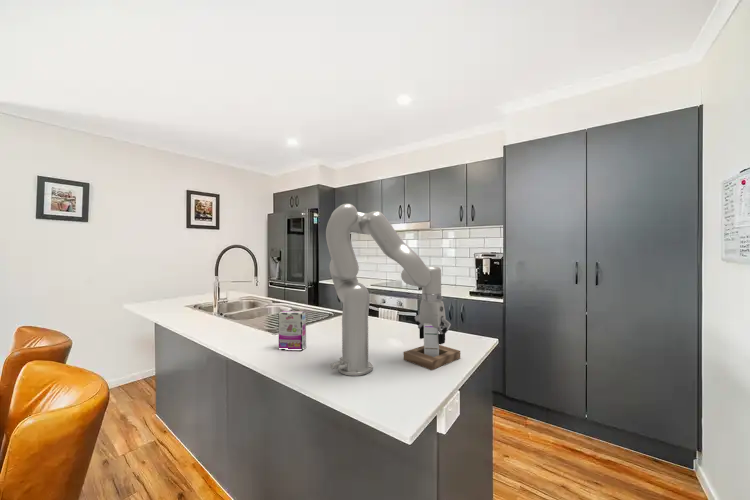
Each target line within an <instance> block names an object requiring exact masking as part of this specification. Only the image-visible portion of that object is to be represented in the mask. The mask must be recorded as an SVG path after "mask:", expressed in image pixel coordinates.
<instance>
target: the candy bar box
mask: <svg viewBox="0 0 750 500" xmlns="http://www.w3.org/2000/svg"><path fill="white" fill-rule="evenodd" d="M306 312H307V311H306V310H305V311H300V310H297V311H295V310H292V311H291V310H282V311H280V312H278V315H277V316H278V317H277V318H278V349H279V348H288V349H303V348H305V347H306V348H307V319H306V318H307V316H306V315H307V313H306ZM306 348H305V349H306Z"/></svg>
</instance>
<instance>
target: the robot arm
mask: <svg viewBox="0 0 750 500" xmlns="http://www.w3.org/2000/svg"><path fill="white" fill-rule="evenodd" d="M326 225H327V226H326V229H325V240H326V243H327V248H328V251H329V256H330V259H331V260H330V262H329V267H328V268H329V273H330V276H331V279H332V282H333V286H334V288H335V291H336V295H337V297H338V299H339V301H341V303H342V313H341V314H342V316H341V336H342V337H341V342H342V344H341V347H342V348H341V349H342V350H341V352H342V353H341V355H342V356H341V357H339V360H338V361H337V362H333V363H330V369H331V370H336V369H337V370H338V372H339V373H341V374H342V375H345V376H351V377H352V376H356V377H357V376H363V375H367V374H369V373H371V372H372V371H373V369H374V367H373V363H371V362H370V361H369V309H370V301H371V300H370V299H371V298H370V293H369V292H370V291H369V290H368V288H367V286H366V285H364V284H363V283H361V282H359V280H358V277H357V275H358V274H359V271H360V270H359V263H358V260H357V258H356V254H355V252H354V247H353V244H352V240H351V233H353V234H360V235H368V236H369V235H370V236H371V238H372V239H373V240H374V241H375V244H377V246H378V247H379V248H380V250H381V252H383V254H384V255H385V256H387V257H388V258H389V259H391V260H393V261H395V263H397V264H398V265H400V266H401V267H402V271H401V275H400V277H401V280H402V281H403V283H404V284H406V285H408V286H409V285H410V286H414V287H418V288H421V301H420V305H419V314H417V315H415V316H414V320H415V323H416V325H417V328H418V329H419V339H420V340H422V339H423V340H424V323H428V324H432V326H433V327H434V328H437V329H438V331H439V335H438V338H439V345H443V344H445V343H446V333H447V332H448V331H449V330H450V327H451V325H452V324H451V322H450V321H449V320H447V317H446V309H445V305H444V301H442V300H443V299H444V296H443V295H442V269H441V268H440V267H439V266H433V265H432V266H427V265H426V264H425V262H424V261H423V259H422V258H421V257H420V256H419V255H418V254H417V252H415V250H414V249H412V248H411V247H410V246H409V245H408V244H407V243H405V242H404V241H403V239H402V238H401V237H400V235H399V234H398V232H397V231H396V230H395V228H394V227H393V225H392V224H391V222H390V221H389V220H388V218H387V217H386V216H385V215H384V214H383V212H381V211H377V210H374V211H371V212H370V211H369V212H368V213H367V212H360V211H358V210H357V208H356V206H354V205H353V204H352V203H343V204H341V205H339V206H338V207H337V208H335V209H334V210H333V212H331V215H330V217H329V219H328V221H327V223H326Z"/></svg>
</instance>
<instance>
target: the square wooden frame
mask: <svg viewBox="0 0 750 500" xmlns="http://www.w3.org/2000/svg"><path fill="white" fill-rule="evenodd" d="M403 360H404V361H406V362H409V363H411V364H414V365H417V366H419V367H422V368H425V369H428V370H430V371H433V370H436V369H438V368H441V367H443V366H446V365H448V364H450V363H452V362H455V361H457V360H461V350H458V349H456V348H452V347H448V346H444V345H443V344H439V355H438V356H436V357H432V356H429V355H426V354H424V345H422V346H419V347H415V348H412V349H408V350H405V351H403Z"/></svg>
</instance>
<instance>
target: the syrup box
mask: <svg viewBox="0 0 750 500" xmlns="http://www.w3.org/2000/svg"><path fill="white" fill-rule="evenodd" d="M439 334H440V333H439V331H438V329H437V328H434V327H433V326H432V324H428V323H424V338H423V346H424V354H426V355H429V356H432V357H436V356H438V355H439V345H440V344H439V338H438V335H439Z"/></svg>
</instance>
